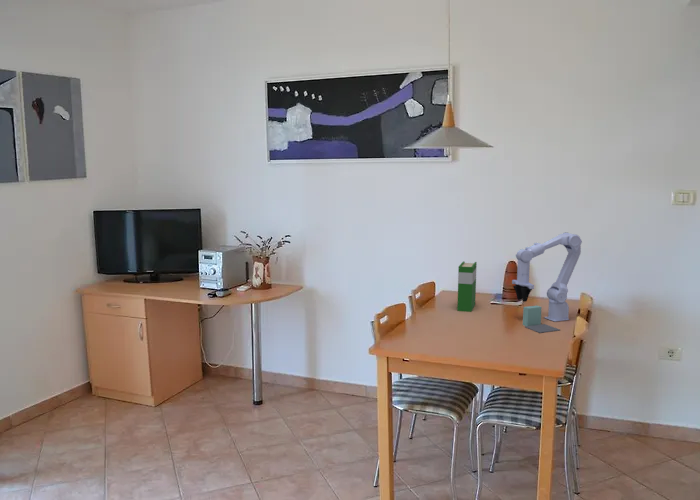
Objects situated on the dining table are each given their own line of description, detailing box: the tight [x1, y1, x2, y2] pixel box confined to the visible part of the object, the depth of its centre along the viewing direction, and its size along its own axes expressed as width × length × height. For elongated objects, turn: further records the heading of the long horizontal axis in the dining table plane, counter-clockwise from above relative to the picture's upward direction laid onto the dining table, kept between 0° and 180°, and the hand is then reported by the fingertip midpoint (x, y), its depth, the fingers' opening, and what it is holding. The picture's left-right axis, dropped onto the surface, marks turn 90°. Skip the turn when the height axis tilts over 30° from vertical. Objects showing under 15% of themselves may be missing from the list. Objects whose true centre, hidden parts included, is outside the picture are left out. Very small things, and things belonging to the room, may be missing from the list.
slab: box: [522, 305, 543, 327], centre depth 296 cm, size 8×4×9 cm, turn 112°
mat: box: [524, 323, 561, 334], centre depth 290 cm, size 12×11×1 cm
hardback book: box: [456, 261, 477, 313], centre depth 330 cm, size 18×7×24 cm, turn 162°
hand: (522, 300), depth 302 cm, fingers open, 3 cm apart
